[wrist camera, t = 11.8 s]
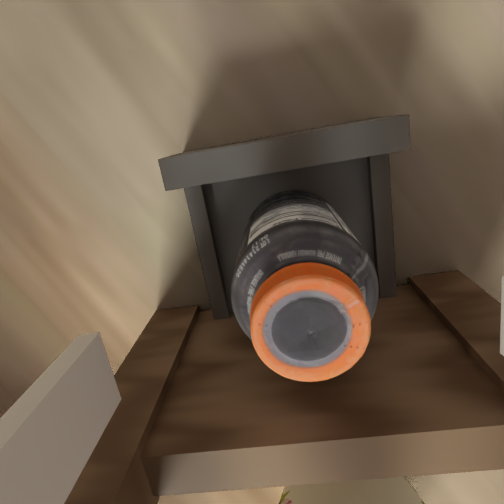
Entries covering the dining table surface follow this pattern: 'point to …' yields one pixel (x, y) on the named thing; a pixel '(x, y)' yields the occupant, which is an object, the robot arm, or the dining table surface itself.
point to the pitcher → (353, 492)
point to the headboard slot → (291, 391)
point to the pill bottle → (303, 288)
